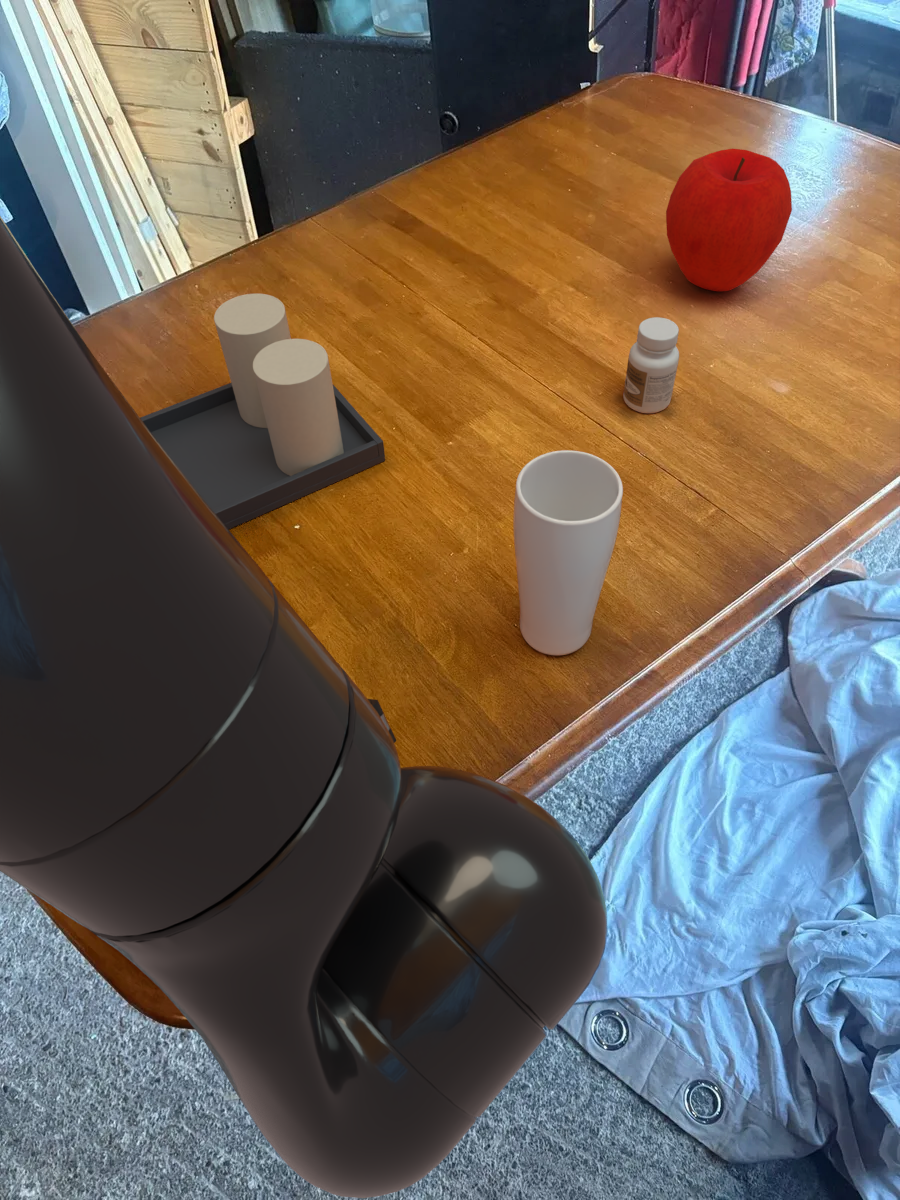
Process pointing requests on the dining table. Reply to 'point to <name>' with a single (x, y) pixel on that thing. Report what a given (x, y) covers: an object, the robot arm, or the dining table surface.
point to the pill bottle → (652, 366)
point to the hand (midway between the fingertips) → (245, 749)
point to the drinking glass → (563, 545)
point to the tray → (251, 455)
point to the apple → (727, 217)
